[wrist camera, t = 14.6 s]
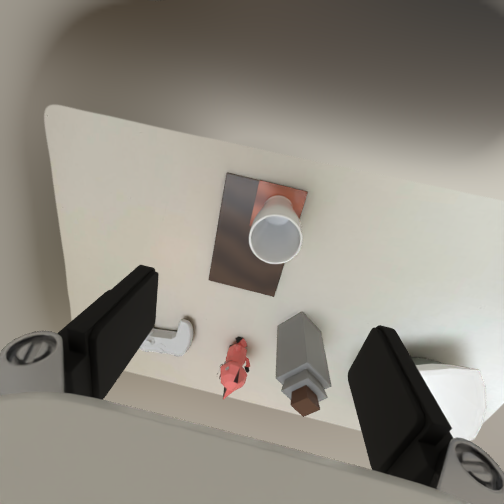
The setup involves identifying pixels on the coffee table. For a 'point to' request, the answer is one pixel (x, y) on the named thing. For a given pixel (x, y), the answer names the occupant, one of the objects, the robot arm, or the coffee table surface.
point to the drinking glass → (276, 231)
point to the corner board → (246, 234)
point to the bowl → (456, 395)
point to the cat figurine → (234, 367)
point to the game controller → (170, 340)
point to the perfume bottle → (302, 364)
